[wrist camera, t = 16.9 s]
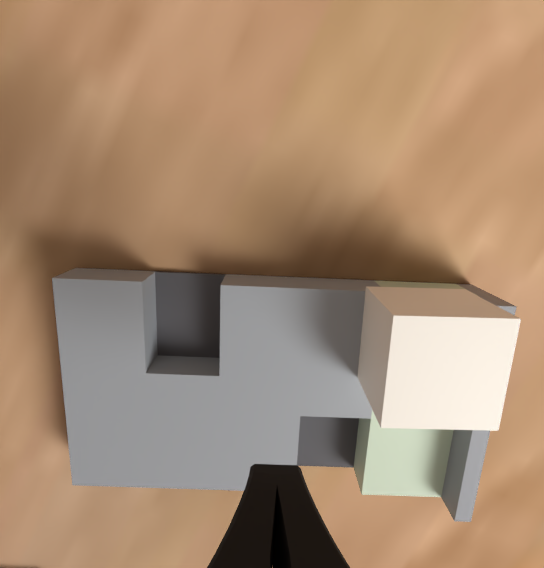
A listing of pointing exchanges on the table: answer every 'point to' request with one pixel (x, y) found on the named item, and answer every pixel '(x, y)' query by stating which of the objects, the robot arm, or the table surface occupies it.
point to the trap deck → (238, 385)
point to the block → (435, 358)
